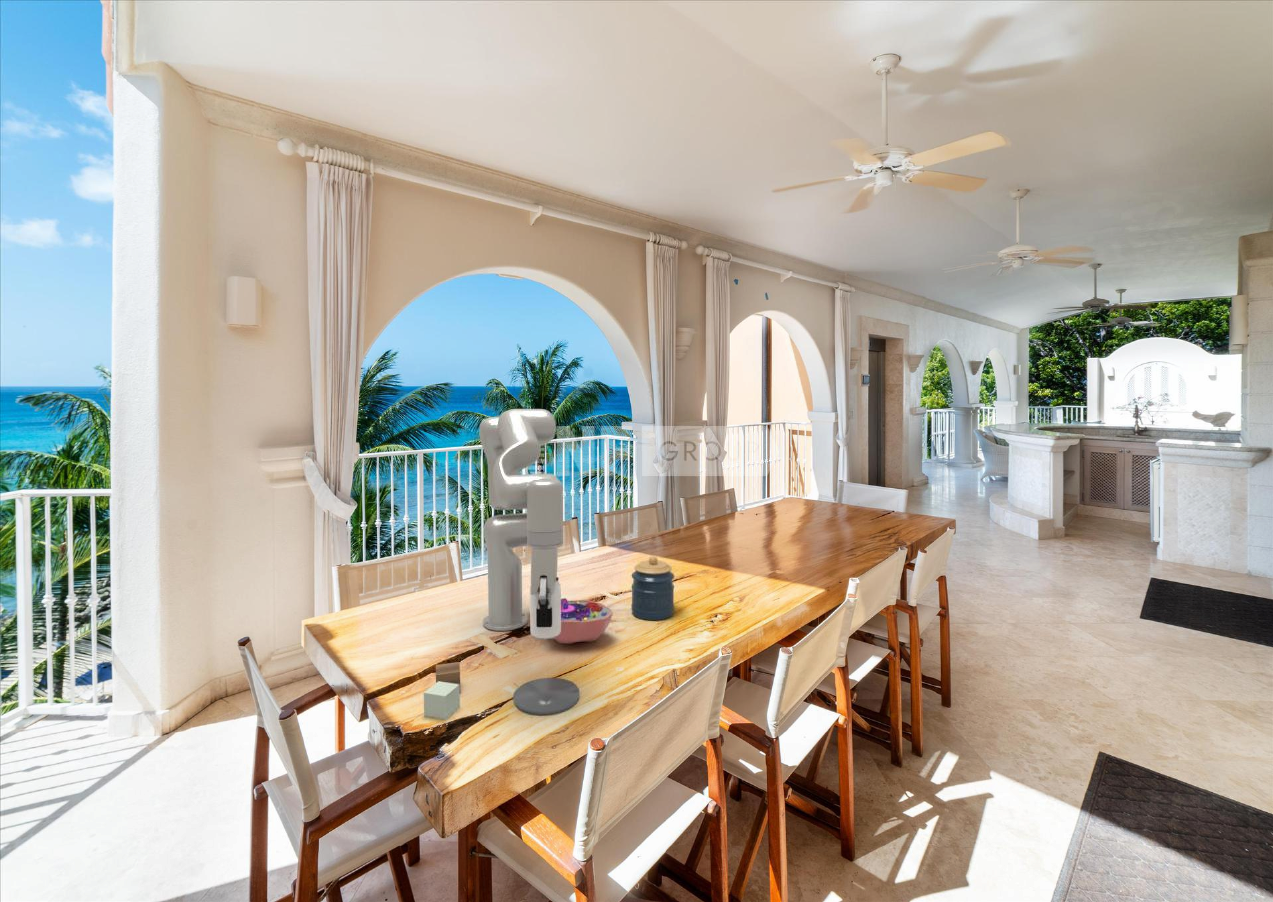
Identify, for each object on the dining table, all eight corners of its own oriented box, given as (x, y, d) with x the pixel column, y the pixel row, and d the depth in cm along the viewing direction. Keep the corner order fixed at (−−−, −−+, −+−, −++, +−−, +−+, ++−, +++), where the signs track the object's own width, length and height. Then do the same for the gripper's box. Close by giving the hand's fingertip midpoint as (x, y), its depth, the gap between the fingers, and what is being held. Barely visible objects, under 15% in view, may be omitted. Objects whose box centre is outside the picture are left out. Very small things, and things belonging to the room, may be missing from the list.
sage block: (439, 703, 119) (438, 681, 119) (459, 707, 118) (459, 684, 118) (424, 716, 115) (423, 692, 114) (445, 720, 113) (445, 696, 113)
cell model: (603, 657, 142) (603, 613, 141) (528, 650, 146) (527, 607, 145) (619, 631, 158) (619, 591, 157) (551, 625, 162) (550, 586, 161)
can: (562, 627, 124) (562, 574, 123) (559, 639, 118) (559, 583, 117) (532, 627, 124) (532, 574, 123) (528, 640, 118) (527, 583, 117)
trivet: (517, 682, 128) (517, 678, 128) (579, 680, 130) (579, 676, 130) (509, 716, 115) (509, 711, 115) (578, 713, 116) (578, 709, 116)
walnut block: (436, 686, 127) (435, 664, 126) (459, 683, 128) (459, 661, 128) (436, 697, 122) (435, 675, 122) (460, 693, 124) (460, 671, 123)
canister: (626, 608, 176) (626, 552, 175) (665, 603, 180) (665, 549, 179) (638, 623, 164) (639, 563, 162) (680, 618, 168) (681, 560, 166)
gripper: (531, 528, 128) (532, 606, 129) (522, 548, 110) (523, 637, 112) (564, 528, 128) (565, 605, 130) (561, 547, 111) (561, 636, 113)
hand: (545, 619), depth 121 cm, fingers closed on can, 6 cm apart
